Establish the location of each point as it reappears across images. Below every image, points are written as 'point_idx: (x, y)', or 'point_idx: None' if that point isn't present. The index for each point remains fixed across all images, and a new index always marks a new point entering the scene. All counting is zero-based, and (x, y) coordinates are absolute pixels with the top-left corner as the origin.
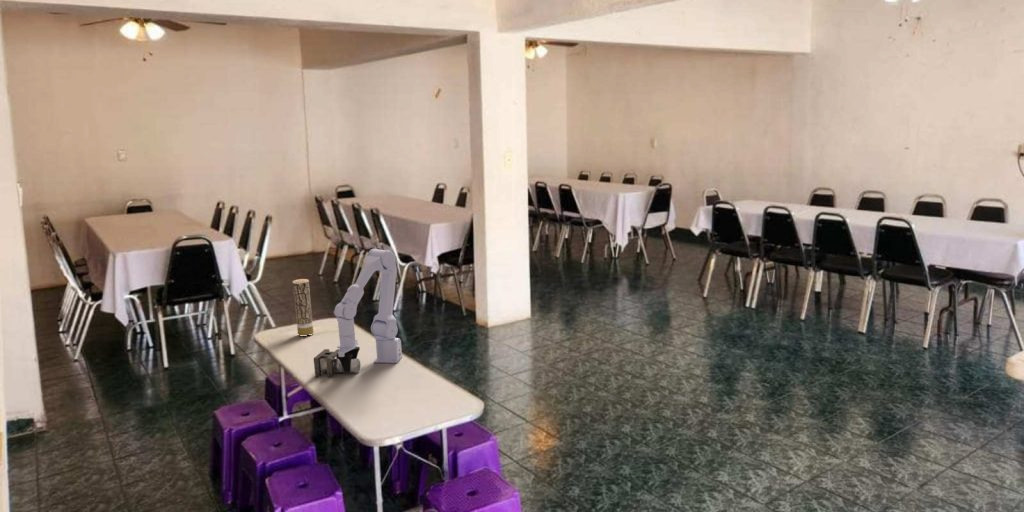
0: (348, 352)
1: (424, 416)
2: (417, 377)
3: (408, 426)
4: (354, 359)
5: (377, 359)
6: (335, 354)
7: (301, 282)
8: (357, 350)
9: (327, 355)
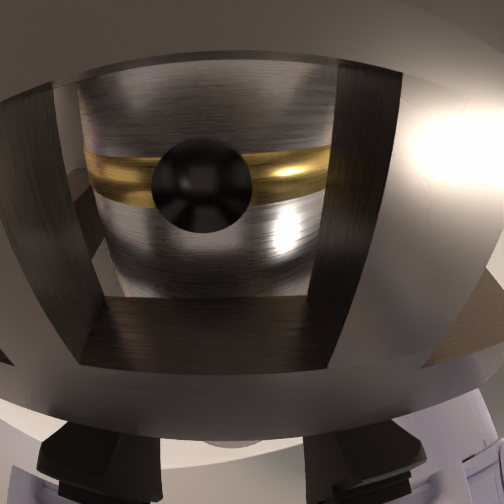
0: (326, 454)
1: (39, 436)
2: (206, 454)
3: (5, 420)
4: (221, 441)
5: None
6: (165, 436)
7: None
8: (306, 492)
9: (2, 322)
